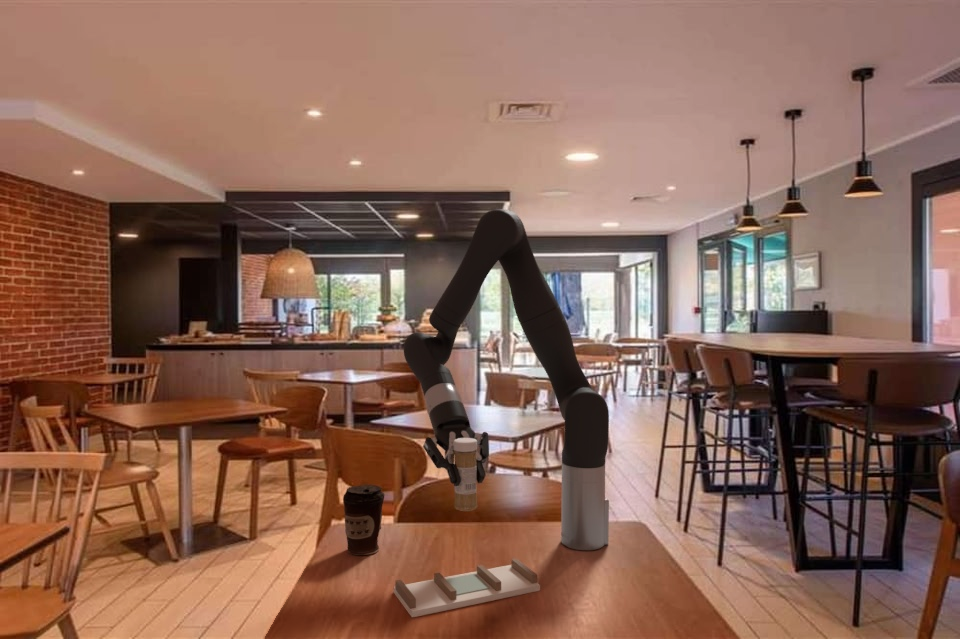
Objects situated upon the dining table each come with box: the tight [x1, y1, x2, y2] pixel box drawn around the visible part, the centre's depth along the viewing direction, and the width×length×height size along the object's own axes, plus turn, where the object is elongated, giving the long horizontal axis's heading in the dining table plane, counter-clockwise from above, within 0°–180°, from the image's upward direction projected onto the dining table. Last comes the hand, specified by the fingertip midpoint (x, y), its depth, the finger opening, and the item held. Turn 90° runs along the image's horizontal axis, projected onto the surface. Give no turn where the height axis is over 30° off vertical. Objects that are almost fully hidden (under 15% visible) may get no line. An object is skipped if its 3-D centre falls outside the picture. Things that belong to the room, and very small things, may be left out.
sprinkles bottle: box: [453, 438, 478, 512], centre depth 123 cm, size 5×5×14 cm
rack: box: [393, 558, 541, 618], centre depth 113 cm, size 24×10×2 cm, turn 115°
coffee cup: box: [342, 484, 385, 556], centre depth 131 cm, size 9×8×13 cm
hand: (469, 482), depth 122 cm, fingers closed on sprinkles bottle, 4 cm apart
